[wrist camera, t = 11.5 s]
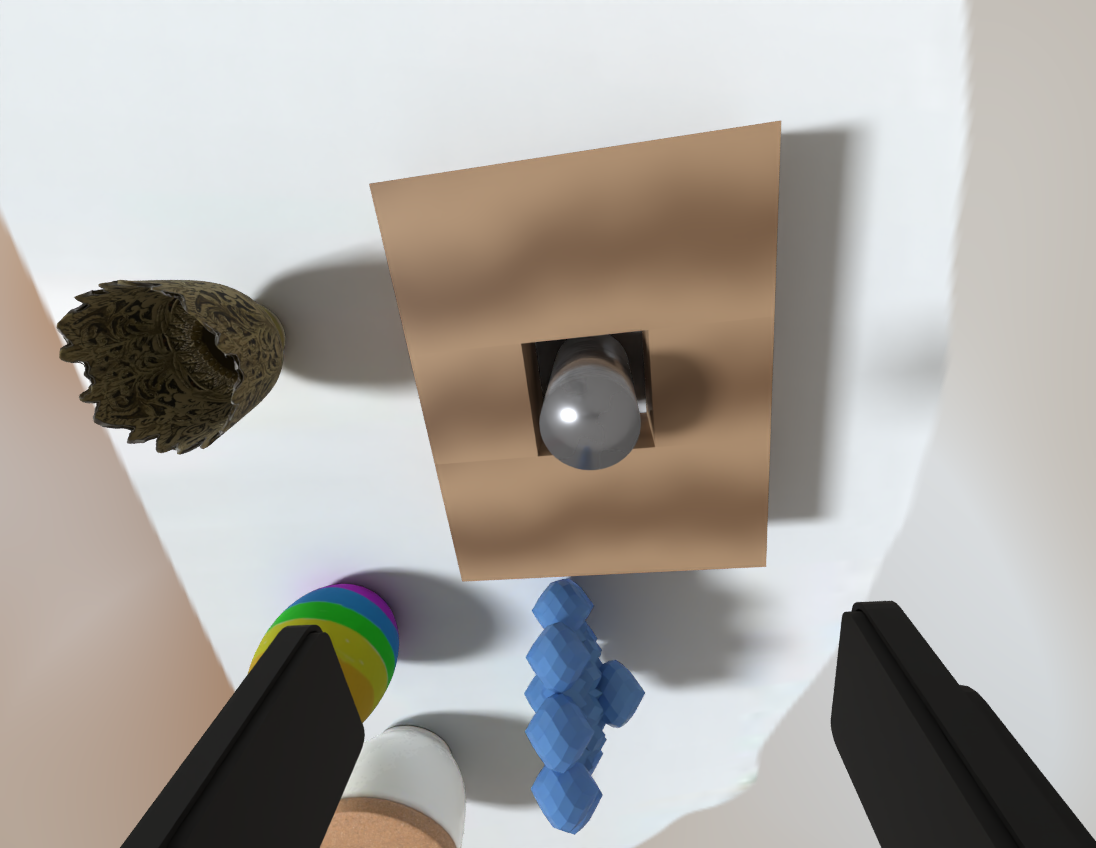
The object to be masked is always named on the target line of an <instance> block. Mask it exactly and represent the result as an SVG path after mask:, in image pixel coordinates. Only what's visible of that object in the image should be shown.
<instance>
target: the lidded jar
mask: <svg viewBox="0 0 1096 848" xmlns="http://www.w3.org/2000/svg"><path fill="white" fill-rule="evenodd" d="M465 814H466V795H465V788H464V782H463V778H462V775H461V772H460V770H459V767H458V765H457V763H456V762H455V760H454V758H453V757H452V755H451V751H450V749H449V747H448V745H447V744H446V743H445V742H444V740H443V739H441V738H440V737H439V736H438V735H436V734H435V733H433V732H431V731H429V730H426V729H424V728H420V727H416V726H406V725H405V726H396V727H392V728H390V729H388V730H386V731H384V732H383V733H382V734H380V735H377V736H375V737H373V738H371V739H369V740H367V741H366V742H364V743H363V747H362V750H361V753H360V755H359V757H358V760H357V762H356V764H355V767H354V769H353V771H352V774H351V776H350V778H349V781H348V783H347V785H346V788H345V790H344V792H343V795H342V797H341V799H340V802H339V804H338V807H337V809H336V811H335V814H334V816H333V818H332V821H331V823H330V825H329V828H328V830H327V832H326V835H325V837H324V839H323V842H322V844H321V846H320V848H461V846H462V840H463V835H464V826H465Z"/></svg>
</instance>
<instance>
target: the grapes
mask: <svg viewBox="0 0 1096 848" xmlns="http://www.w3.org/2000/svg"><path fill="white" fill-rule="evenodd" d="M593 607H594V605H593V604H592V602H591V601H590V599H589V598H588V596H587V595H586V594H585V592H584V591H583V590H582V588H581V587H580V586H579V585H577V584H576V583H575V582H574V581H572V580H570V579H569V578H567V579H562V580H558V581H555V582H552V583H550V585H549V586H548V587H547V588H546V589H545V591H544V592H543V593H542V595H541V596H540V598H539V599H538V601H537V603H536V604H535V606H534V608H533V610H532V612H533V613H534V615H535V617H536V618H537V620H538V621H539V623H540V624H541V626H542V627H543V628H544V630H543V632H542V633H541V634H540V635H539V637H538V638H537V640H536V641H535V643H534V644H533V645H532V647H531V649H530V651H529V653H528V654H527V656H526V659H527V660H528V662H529V664H530V666H531V667H532V669H533V671H534V672H535V673H536V676H535V677H534V678H533V680H532V681H531V683H530V684H529V686H528V688H527V690H526V692H525V693H524V694H525V696H526V698H527V700H528V702H529V704H530V705H531V707H532V708H533V710H534V711H535V712H536V714H535V715H534V716H533V718H532V720H531V721H530V723H529V725H528V727H527V729H526V731H525V733H526V735H527V737H528V739H529V741H530V743H531V744H532V746H533V748H534V749H535V751H536V752H537V754H538V756H539V757H540V758H541V760H542V761H543V763H544V764H545V765H544V767H543V768H542V770H541V771H540V773H539V774H538V776H537V778H536V780H535V782H534V784H533V786H532V787H531V791H532V793H533V795H534V797H535V799H536V801H537V803H538V805H539V806H540V808H541V810H542V812H543V813H544V815H545V816H546V818H547V819H548V821H549V822H550V824H551V825H552V826H553V827H554V828H557V829H559V830H562V831H565V832H568V833H572V834H574V835H575V834H576V833H577V832H578V831H580V830H581V829H582V828H583V827H584V826H585V825H586V824H587V822H588V821H589V820H590V818H591V816H592V814H593V813H594V811H595V809H596V807H597V805H598V803H599V801H600V799H601V797H602V793H601V791H600V789H599V788H598V786H597V784H596V782H595V781H594V779H593V778H592V776H591V775H592V773H593V771H594V770H595V768H596V766H597V764H598V762H599V760H600V758H601V756H602V755H603V753H602V751H601V748H602V746H603V745H604V743H605V741H606V740H607V739H606V738H605V734H604V733H603V731H602V730H603V728H604V726H605V724H608V725H610V726H612V727H617V728H620V727H621V726H623V725H624V724H626V723H627V722H628V721H629V719H630V718H631V717H632V716H633V714H634V713H635V711H636V709H637V707H638V706H639V704H640V702H641V700H642V698H643V696H644V694H645V692H644V690H643V689H642V687H641V686H640V685H639V683H638V682H637V680H636V679H635V678H634V676H633V675H632V674H631V672H630V671H629V670H628V669H627V668H626V667H625V666H624V665H623V664H621V663H620V662H618V661H616V660H611V661H608V662H606V663H604V664H602V662H601V661H600V659H599V656H600V655H601V651H602V649H601V648H600V647H599V645H598V644H597V643H596V641H597V639H598V638H597V637H596V635H595V634H594V632H593V631H592V630H591V628H590V627H589V625H588V624H587V623H586V621H585V620H586V618H587V617H588V616H589V614H590V612H591V610H592V608H593Z"/></svg>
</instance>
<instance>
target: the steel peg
mask: <svg viewBox="0 0 1096 848" xmlns="http://www.w3.org/2000/svg"><path fill="white" fill-rule="evenodd" d="M539 424H540V432H541V436H542V439H543V442H544V444H545V445H546V447H547V449H548V450H549V451H550V452H551V454H552V455H553V456H554V457H556V458H557V459H558V460H559V461H561V462H562V463H564V464H566V465H568V466H570V467H573V468H577V469H581V470H599V469H604V468H608V467H610V466H613V465H615V464H617V463H618V462H620V461H621V460H623V459H624V458H625V457H626V456H627V455H628V454H629V453H630V452H631V451H632V449H633V448H634V446H635V445H636V443H637V440H638V438H639V434H640V429H641V419H640V413H639V408H638V403H637V399H636V394H635V389H634V385H633V380H632V375H631V370H630V366H629V361H628V357H627V354H626V352H625V350H624V348H623V346H622V345H621V344H620V343H619V342H618V341H617V340H616V339H615V338H613V337H612V336H610V335H608V334H605V335H596V336H587V337H577V338H569V339H568V340H566V341H565V342H564V343H563V345H562V346H561V347H560V349H559V351H558V353H557V355H556V358H555V362H554V365H553V369H552V373H551V377H550V380H549V384H548V388H547V391H546V395H545V399H544V403H543V406H542V410H541V415H540V423H539Z"/></svg>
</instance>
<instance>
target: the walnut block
mask: <svg viewBox="0 0 1096 848" xmlns="http://www.w3.org/2000/svg"><path fill="white" fill-rule="evenodd" d="M780 139H781V121H775V122H769V123H762V124H756V125H749V126H743V127H736V128H730V129H723V130H717V131H710V132H704V133H697V134H690V135H684V136H677V137H671V138H664V139H658V140H651V141H645V142H638V143H632V144H625V145H619V146H612V147H606V148H599V149H593V150H586V151H580V152H573V153H567V154H560V155H554V156H547V157H541V158H534V159H528V160H521V161H515V162H508V163H502V164H495V165H489V166H482V167H476V168H469V169H462V170H456V171H449V172H443V173H436V174H430V175H423V176H417V177H410V178H404V179H397V180H391V181H384V182H378V183H371V184H369V185H370V190H371V194H372V198H373V202H374V207H375V211H376V215H377V219H378V224H379V228H380V232H381V236H382V241H383V245H384V249H385V254H386V258H387V262H388V266H389V271H390V275H391V279H392V283H393V288H394V292H395V296H396V300H397V305H398V309H399V313H400V318H401V322H402V326H403V330H404V335H405V339H406V343H407V347H408V352H409V356H410V360H411V364H412V369H413V373H414V377H415V382H416V386H417V390H418V394H419V399H420V403H421V407H422V411H423V416H424V420H425V424H426V429H427V433H428V437H429V441H430V446H431V450H432V454H433V458H434V463H435V467H436V471H437V475H438V480H439V484H440V488H441V493H442V497H443V501H444V505H445V510H446V514H447V518H448V522H449V527H450V531H451V535H452V539H453V544H454V548H455V552H456V557H457V561H458V565H459V569H460V574H461V578H462V581H482V580H502V579H523V578H543V577H564V576H584V575H605V574H625V573H646V572H666V571H687V570H707V569H728V568H748V567H766V551H767V522H768V492H769V463H770V433H771V404H772V375H773V345H774V316H775V286H776V257H777V228H778V198H779V169H780ZM633 331H642V345H643V361H644V377H645V393H646V410H647V413H640V419H641V429H640V434H639V438H638V440H637V443H636V445H635V446H634V448H633V449H632V451H631V452H630V453H629V454H628V455H627V456H626V457H625V458H624V459H623V460H621V461H620V462H618V463H617V464H615V465H613V466H610V467H608V468H604V469H599V470H581V469H577V468H573V467H570V466H568V465H566V464H564V463H562V462H561V461H559V460H558V459H557V458H556V457H554V456H553V455H552V454H551V452H550V451H549V450H548V449H547V447H546V445H545V444H544V442H543V439H542V436H541V432H540V424H539V423H540V415H541V410H542V406H543V403H544V402H543V395H542V388H541V380H540V373H539V366H538V359H537V352H536V345H535V342H540V341H550V340H559V339H568V338H577V337H587V336H596V335H605V334H615V333H624V332H633Z"/></svg>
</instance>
